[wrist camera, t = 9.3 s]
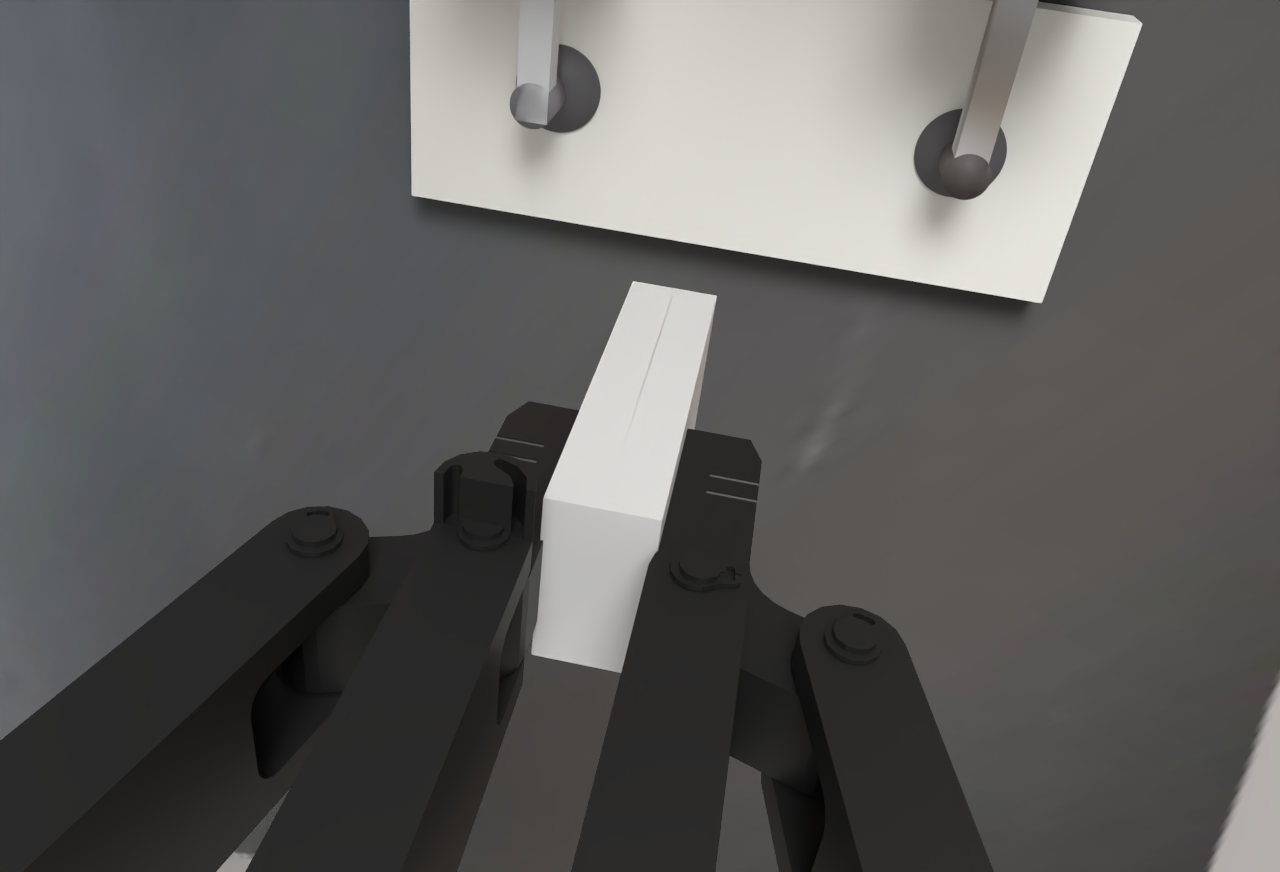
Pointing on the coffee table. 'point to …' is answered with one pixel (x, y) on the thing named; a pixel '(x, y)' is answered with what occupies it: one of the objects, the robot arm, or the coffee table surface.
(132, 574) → the coffee table surface
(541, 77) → the sliding leg
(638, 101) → the hole plate
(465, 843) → the robot arm
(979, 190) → the rail
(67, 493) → the coffee table surface
